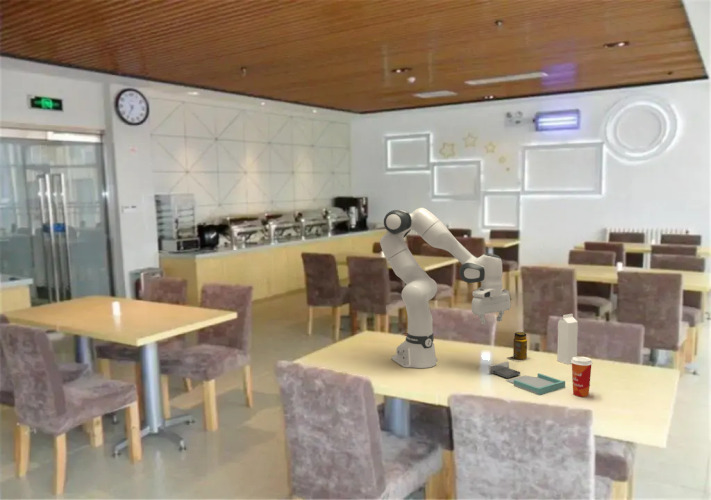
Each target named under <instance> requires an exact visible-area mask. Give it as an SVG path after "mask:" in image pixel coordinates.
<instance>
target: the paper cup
mask: <svg viewBox="0 0 711 500" xmlns="http://www.w3.org/2000/svg"><path fill="white" fill-rule="evenodd" d="M571 362H572V363H571V372H572V375H571V377H572V378H571V379H572V381H571V382H572V393H573V395H574V396H576V397H580V398H581V397H582V398H586V397H589V394H590V386H591V375H592V374H591V373H592V364H593V361H592V358H590V357H587V356H577V357H573V358H572V360H571Z"/></svg>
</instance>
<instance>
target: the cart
mask: <svg viewBox="0 0 711 500" xmlns="http://www.w3.org/2000/svg"><path fill="white" fill-rule="evenodd" d="M509 363H510V362H508V361H504V362H500V363H495V364H492V365H488V373H489V374H493V375H498V376H501V377H503V378H505V379H509V378H511V377H515V376H517V377H519V376H520V375H521V371H519V370H517V369H512V368H510V364H509Z"/></svg>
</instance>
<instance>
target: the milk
mask: <svg viewBox="0 0 711 500" xmlns="http://www.w3.org/2000/svg"><path fill="white" fill-rule="evenodd" d="M578 323H579V321H578V320H577V319H575V317H574V314H573V313H569V314H563V316H562V318H560V319H558V320H557V354H556V355H557V360H556V361H557V362H559V363H563V364H566V365H570V364H571V365H572V362H571V360H572V358H573V357H578V327H579V326H578V325H579V324H578Z"/></svg>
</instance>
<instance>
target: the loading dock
mask: <svg viewBox="0 0 711 500" xmlns="http://www.w3.org/2000/svg"><path fill="white" fill-rule="evenodd" d="M505 382H507V383H509V384H512V385H513V386H514V387H515V388H516V387H517V388H518V389H519V388H520V389H521V390H525V391H527V392H529V393H530V392H531V393H532V394H535V395H538V396H542V395H545V394H547V393H551V392H555V391H559V390H561V389H565V388H566V381H565V380H561V379H558V378H554V377H553V376H549V375H545V374H543V373H537V376H530V375H522V376H517V377H514V378H510V379H506V380H505Z"/></svg>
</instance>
